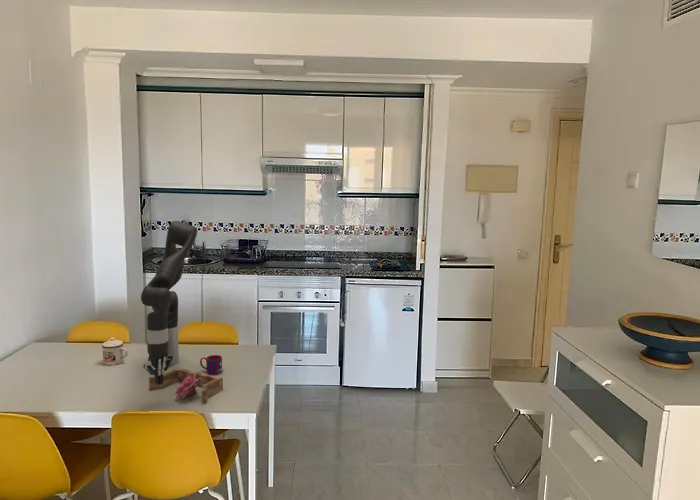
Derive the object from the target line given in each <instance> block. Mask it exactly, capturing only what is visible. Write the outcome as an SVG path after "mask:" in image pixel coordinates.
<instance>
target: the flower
mask: <svg viewBox="0 0 700 500" xmlns="http://www.w3.org/2000/svg"><path fill="white" fill-rule="evenodd" d="M195 378H196V374H194V376H192V377H191V376H188V377H187V378H185V379H184V381H183V382H180V385H179V387H177V388H176V391H175V394H177V395H176V396H175V399H177V400H181V399H184V398H185V397H188V396H191V395H197V396H199V393H198V392H197V387H199V386H198V385H199V384H200V383H201V382H202V381H203V379H202V378H200V377H199V378H198V379H195ZM200 397H201V398H202V395H200Z"/></svg>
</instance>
